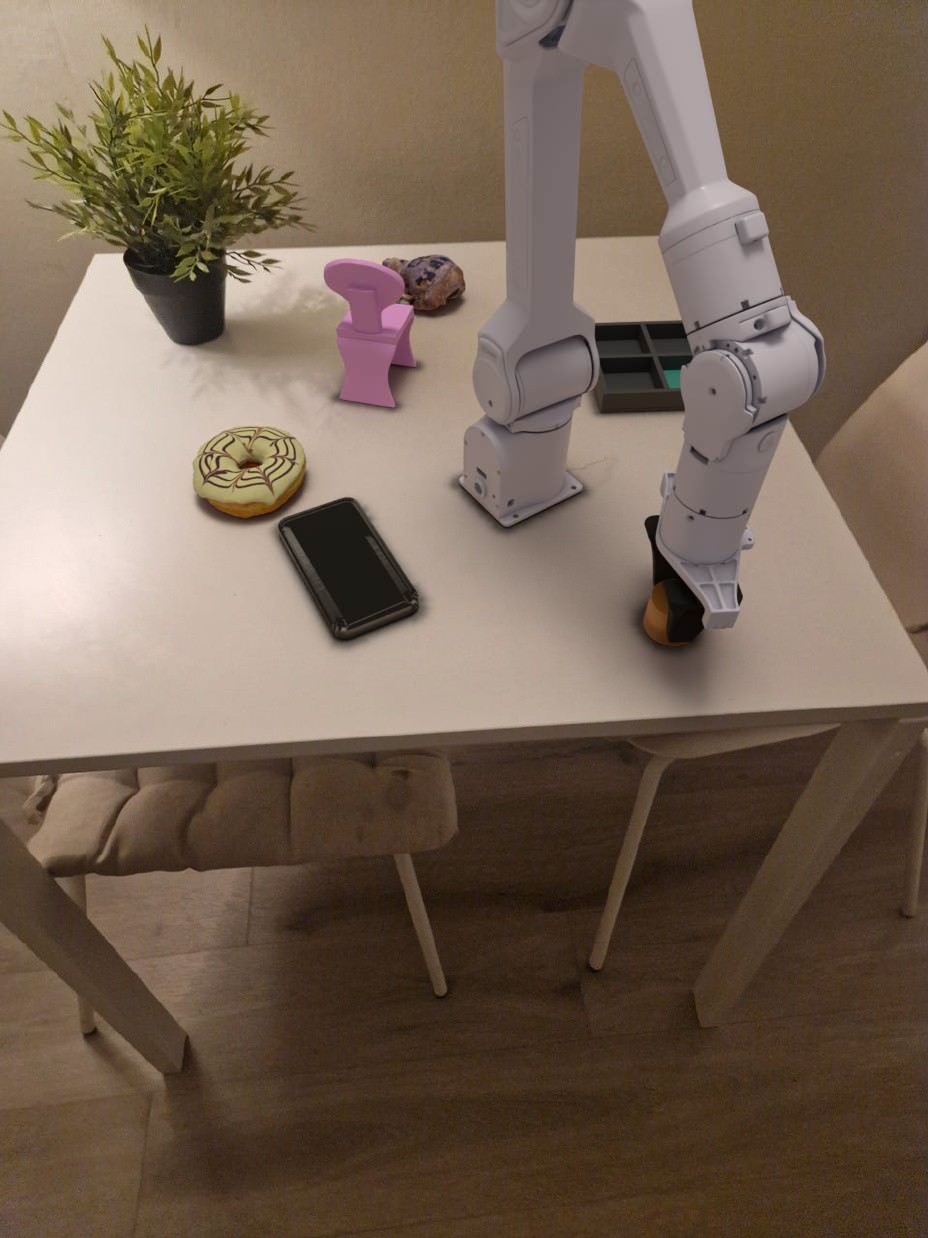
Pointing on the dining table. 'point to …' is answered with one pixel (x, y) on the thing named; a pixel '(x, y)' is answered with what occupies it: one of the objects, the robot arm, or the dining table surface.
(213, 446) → the decorated donut
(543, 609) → the dining table surface
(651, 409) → the grid
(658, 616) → the orange cylinder
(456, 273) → the toy tortoise
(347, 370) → the toy chair
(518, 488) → the robot arm
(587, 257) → the dining table surface
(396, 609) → the phone
